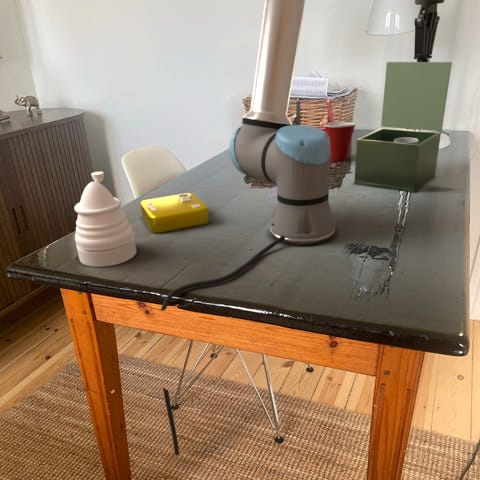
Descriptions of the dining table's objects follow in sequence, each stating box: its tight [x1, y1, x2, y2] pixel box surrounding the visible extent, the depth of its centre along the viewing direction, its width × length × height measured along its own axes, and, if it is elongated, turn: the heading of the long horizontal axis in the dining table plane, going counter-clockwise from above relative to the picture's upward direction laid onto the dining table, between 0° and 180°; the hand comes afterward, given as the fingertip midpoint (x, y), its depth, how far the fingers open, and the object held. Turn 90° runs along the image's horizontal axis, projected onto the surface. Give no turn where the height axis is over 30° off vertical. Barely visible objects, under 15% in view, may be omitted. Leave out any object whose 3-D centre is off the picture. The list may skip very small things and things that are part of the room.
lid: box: [380, 61, 453, 132], centre depth 146 cm, size 18×18×1 cm
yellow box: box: [140, 192, 210, 234], centre depth 132 cm, size 15×15×5 cm
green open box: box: [353, 127, 442, 193], centre depth 148 cm, size 17×18×13 cm
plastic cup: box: [323, 121, 357, 162], centre depth 173 cm, size 11×11×12 cm
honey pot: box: [74, 171, 138, 268], centre depth 112 cm, size 13×13×18 cm
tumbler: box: [394, 138, 419, 144], centre depth 147 cm, size 7×7×11 cm
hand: (419, 84), depth 147 cm, fingers closed
